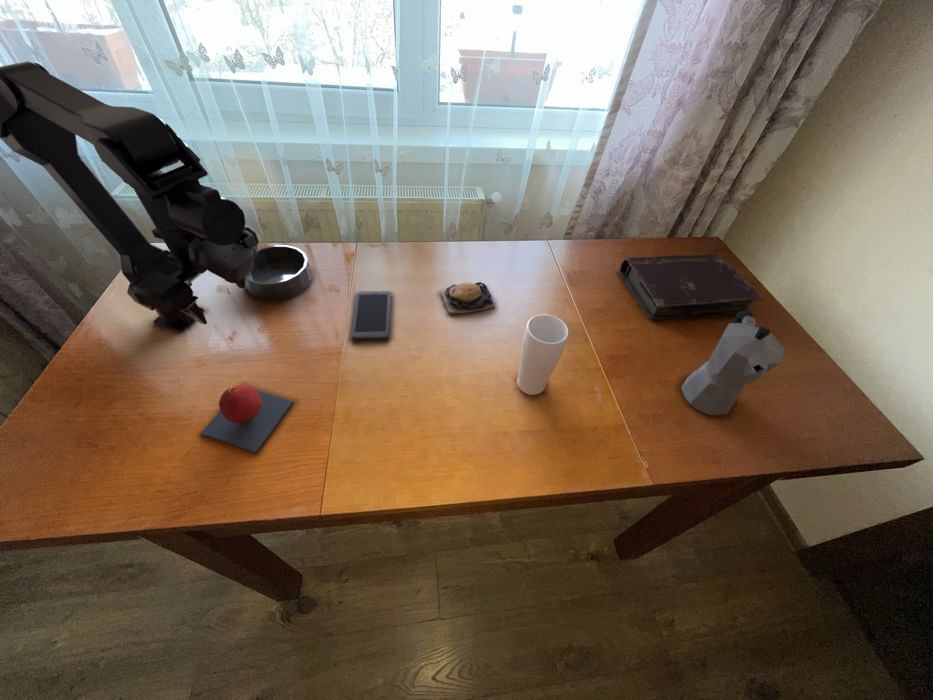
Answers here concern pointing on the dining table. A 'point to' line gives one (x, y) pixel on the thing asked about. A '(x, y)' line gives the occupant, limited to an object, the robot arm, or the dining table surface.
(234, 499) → the dining table surface
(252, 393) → the red rounded piece
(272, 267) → the bowl
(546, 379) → the tall white cup
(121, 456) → the dining table surface
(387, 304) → the cell phone
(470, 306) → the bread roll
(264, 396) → the mat
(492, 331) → the dining table surface
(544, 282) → the dining table surface
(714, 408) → the coffeepot
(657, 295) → the diary
